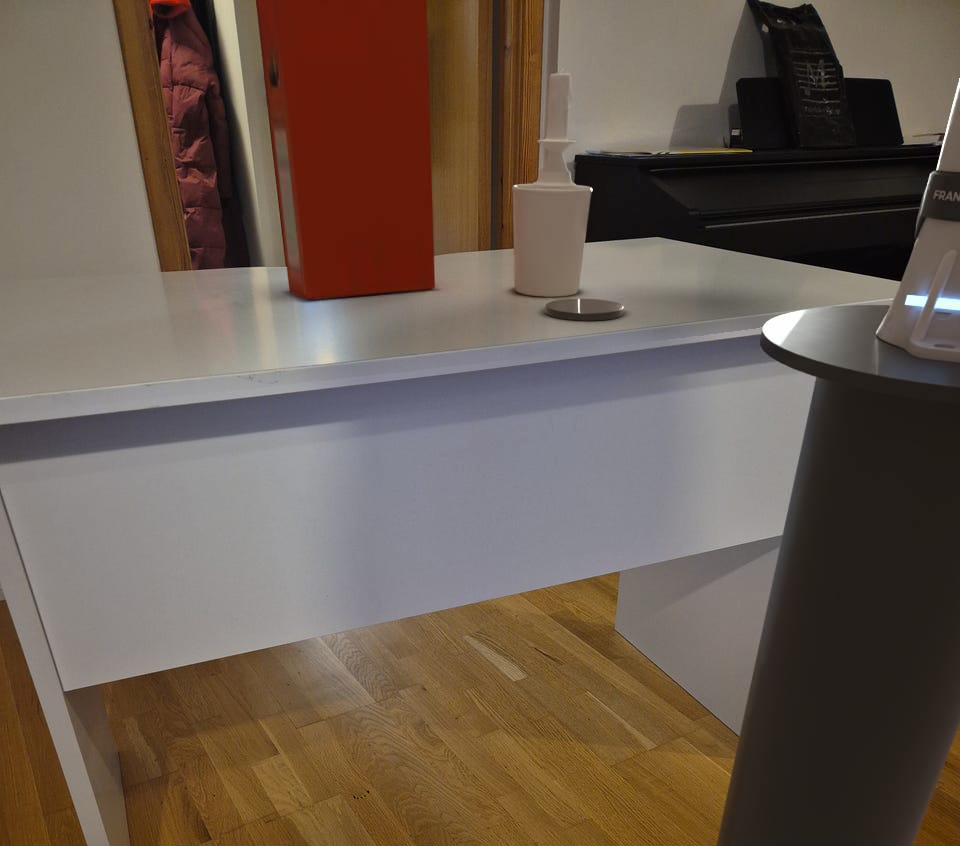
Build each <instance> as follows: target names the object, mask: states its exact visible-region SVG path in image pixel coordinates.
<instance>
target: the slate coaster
mask: <svg viewBox="0 0 960 846" xmlns="http://www.w3.org/2000/svg"><path fill="white" fill-rule="evenodd" d="M544 313H545V314H546V315H548V316H549V317H551V318H555V319H560V320H567V321H568V320H569V321H581V322H596V321H608V320H614V319H618V318H620V317H622V316H623V314H624V306H623V304H621V303H618V302H615V301H613V300H612V301H611V300H607V299H599V298H598V299H597V298H564V299H556V300H552V301H549V302H547V303H545V306H544Z"/></svg>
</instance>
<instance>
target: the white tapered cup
mask: <svg viewBox="0 0 960 846" xmlns="http://www.w3.org/2000/svg"><path fill="white" fill-rule="evenodd" d="M532 184H533V183H519V184H514V185H512V186H511V190H512V220H513V221H512V228H513V229H512V231H513V233H512V235H513V280H514V281H513V282H514V283H513V284H514V290H515V292H517V293H519V294H521V295H527V296H531V297H532V296H533V297H543V298H545V297H546V298H547V297H548V298H549V297H550V298H552V297H553V298H556V297H568V296H573V295H576V294H577V293H578V292H579V288H580V283H581V275H582V268H583V261H584V253H585V244H586V238H587V237H586V236H587V229H588V221H589V214H590V205H591V197H592V192H593V187H591V186H589V185H581V184H580V185H579V184H576V186H575V187H562V188H558V187H539V186H533V185H532Z"/></svg>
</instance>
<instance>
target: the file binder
mask: <svg viewBox="0 0 960 846" xmlns="http://www.w3.org/2000/svg"><path fill="white" fill-rule="evenodd" d="M255 3H256V12H257V20H258V29H259V38H260V47H261V55H262V64H263V65H262V66H263V73H264V81H265V82H264V83H265V90H266V99H267V100H266V101H267V108H268V117H269V125H270V135H271V142H272V143H271V144H272V152H273V161H274V168H275V178H276V186H277V195H278V203H279V212H280V220H281V230H282V231H281V232H282V238H283V245H284V246H283V247H284V255H285V263H286V273H287V283H288V290H289V292H290V293H292V294H294V295H296V296H298V297H300V298H302V299H304V300H306V301H312V300H323V299H334V298H335V299H336V298H346V297H358V296H369V295H380V294H390V293H399V292H401V293H402V292H412V291H413V292H414V291H423V290H433V289H434V288H436V279H435V278H436V275H435V274H436V273H435V244H434V243H435V241H434V240H435V239H434V211H433V210H434V208H433V206H434V205H433V175H432V173H433V170H432V141H431V140H432V139H431V138H432V137H431V110H430V109H431V105H430V103H431V101H430V74H429V73H430V71H429V69H430V67H429V42H428V41H429V40H428V39H429V38H428V37H429V36H428V35H429V33H428V7H427V0H255Z"/></svg>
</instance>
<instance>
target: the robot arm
mask: <svg viewBox="0 0 960 846" xmlns="http://www.w3.org/2000/svg"><path fill="white" fill-rule="evenodd" d="M953 99H954V100H953V103H952V107H951V111H950V114H949V119H948V123H947V126H946V129H945V130H946V131H945V135H944V138H943V142H942V145H941V150H940V154H939V159H938V162H937V166H936V170H935V169H934V170H933V171H931V172H930V173H929V177H928V180H927V185H926V187H925V189H924V191H923V194H922V197H921V201H920V205H919V209H918V213H917V216H916V217H917V218H916V222H915V231H914V236H913V237H914V238H915V242H914V246H913V249H912V251H911V254H910V257H909V260H908V263H907V265H906V268H905V271H904V272H903V273H904V274H903V276H902V279H901V281H900V283H899V286H898V288H897V290H896V293H895V295H894V298H893V299H892V302H891V304H890V305H891V306H890V308H889V310H888V312H887V314H886V316H885V317H884V319H883V321H882V323H881V325H880V326H879V328H878V330H877V332H876V335H877V336H878V337H879V338H880V339H882V340H884V341H886V342H888V343H890V344H893V345H895V346H898V347H901V348H903V349H905V350H906V351H907V352H908V353H909V354H911V355H912V356H915V357H918V358H923V359H930V360H939V361H947V362H955V363H960V79H959V80H958V84H957V87H956V91H955V95H954V98H953Z"/></svg>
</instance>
